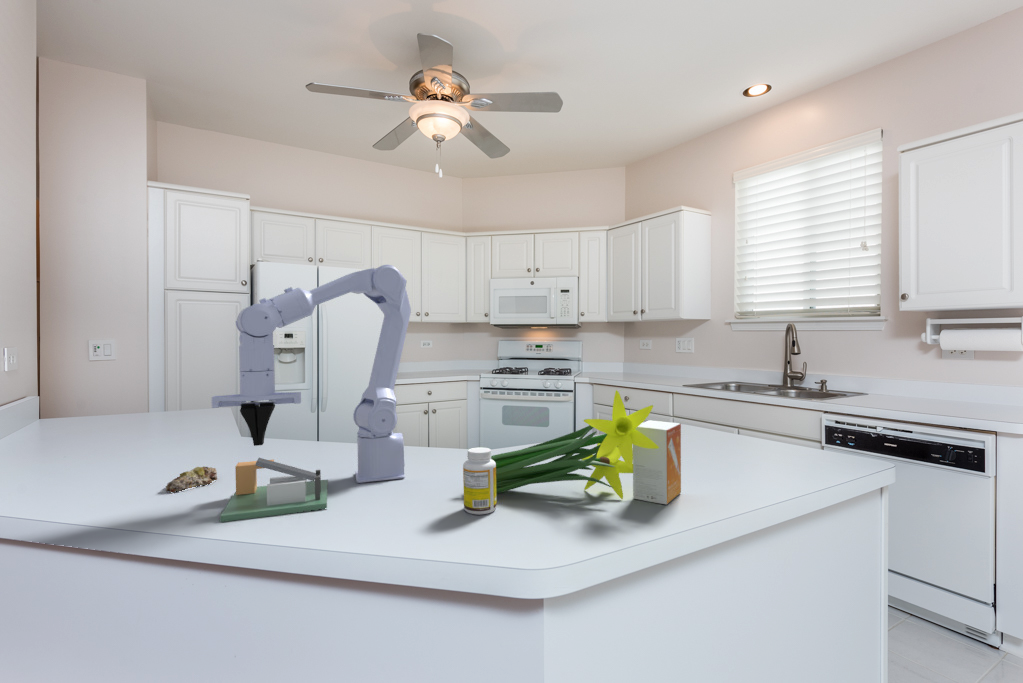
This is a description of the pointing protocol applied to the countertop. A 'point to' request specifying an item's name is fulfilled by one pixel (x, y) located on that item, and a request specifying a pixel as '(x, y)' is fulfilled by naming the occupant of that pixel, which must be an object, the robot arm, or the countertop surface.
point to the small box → (658, 463)
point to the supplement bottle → (479, 482)
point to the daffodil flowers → (605, 460)
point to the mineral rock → (192, 479)
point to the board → (262, 510)
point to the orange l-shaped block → (246, 477)
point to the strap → (286, 469)
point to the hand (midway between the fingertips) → (258, 444)
